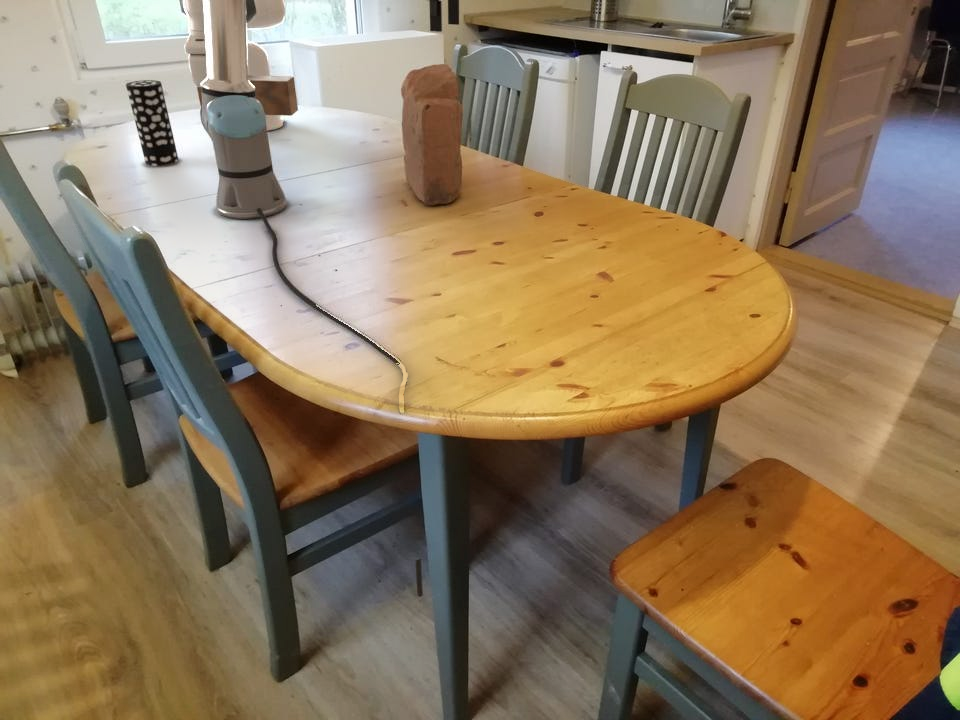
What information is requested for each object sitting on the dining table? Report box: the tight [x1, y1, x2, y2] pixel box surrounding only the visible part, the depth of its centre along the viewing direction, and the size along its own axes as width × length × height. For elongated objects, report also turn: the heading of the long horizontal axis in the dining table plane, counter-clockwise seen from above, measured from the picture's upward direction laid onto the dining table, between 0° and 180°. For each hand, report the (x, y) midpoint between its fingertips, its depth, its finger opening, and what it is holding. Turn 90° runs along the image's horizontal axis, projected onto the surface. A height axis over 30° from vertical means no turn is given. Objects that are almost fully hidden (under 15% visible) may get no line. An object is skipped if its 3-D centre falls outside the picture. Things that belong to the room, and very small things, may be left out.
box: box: [196, 75, 299, 116], centre depth 181 cm, size 24×6×8 cm, turn 87°
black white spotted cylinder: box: [125, 79, 179, 167], centre depth 181 cm, size 8×8×20 cm
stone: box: [400, 63, 464, 206], centre depth 161 cm, size 22×11×28 cm, turn 18°
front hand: (445, 27), depth 170 cm, fingers open, 13 cm apart
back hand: (220, 98), depth 182 cm, fingers closed on box, 6 cm apart
